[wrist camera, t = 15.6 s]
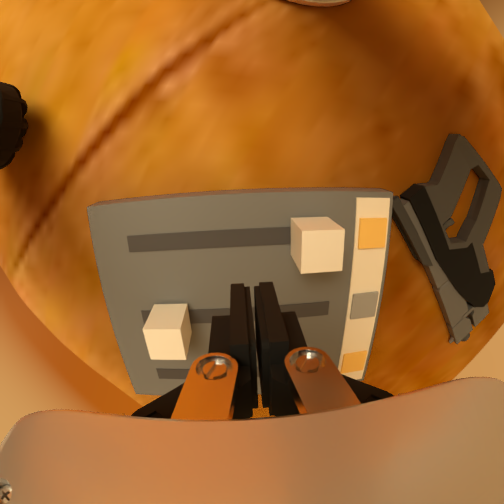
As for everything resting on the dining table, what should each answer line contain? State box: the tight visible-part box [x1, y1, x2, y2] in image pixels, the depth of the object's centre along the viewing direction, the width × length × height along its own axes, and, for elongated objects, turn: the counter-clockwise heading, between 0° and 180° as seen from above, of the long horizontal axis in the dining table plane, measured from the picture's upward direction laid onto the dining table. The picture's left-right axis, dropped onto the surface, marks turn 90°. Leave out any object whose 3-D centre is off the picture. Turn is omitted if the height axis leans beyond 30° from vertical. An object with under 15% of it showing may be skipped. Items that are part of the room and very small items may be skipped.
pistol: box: [392, 134, 502, 344], centre depth 27 cm, size 2×26×15 cm
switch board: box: [87, 188, 393, 395], centre depth 26 cm, size 21×26×3 cm
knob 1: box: [143, 304, 192, 360], centre depth 23 cm, size 3×3×4 cm
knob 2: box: [291, 217, 345, 274], centre depth 21 cm, size 3×3×4 cm
